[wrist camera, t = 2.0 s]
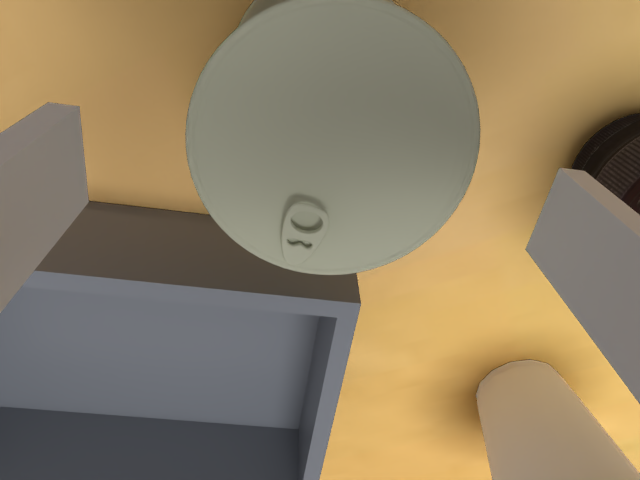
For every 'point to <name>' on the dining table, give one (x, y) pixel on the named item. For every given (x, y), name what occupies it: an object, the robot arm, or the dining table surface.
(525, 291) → the dining table surface
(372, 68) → the can
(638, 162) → the camera lens
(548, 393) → the foam cup
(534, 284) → the dining table surface
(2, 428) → the box
